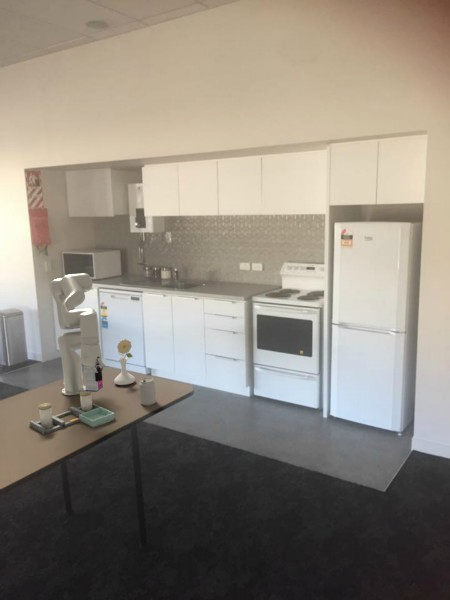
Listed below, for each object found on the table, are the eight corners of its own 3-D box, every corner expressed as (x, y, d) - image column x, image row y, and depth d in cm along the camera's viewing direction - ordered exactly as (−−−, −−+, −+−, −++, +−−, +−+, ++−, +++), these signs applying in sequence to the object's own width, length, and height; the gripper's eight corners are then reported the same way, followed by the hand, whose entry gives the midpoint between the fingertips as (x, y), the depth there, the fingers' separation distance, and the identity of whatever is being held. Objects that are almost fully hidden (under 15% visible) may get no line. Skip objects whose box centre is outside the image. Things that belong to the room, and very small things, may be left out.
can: (141, 400, 247) (139, 377, 245) (156, 399, 247) (155, 376, 245) (139, 406, 239) (138, 382, 237) (155, 405, 240) (154, 381, 238)
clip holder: (29, 426, 222) (28, 421, 221) (89, 405, 243) (88, 400, 243) (43, 434, 213) (42, 429, 212) (104, 412, 234) (103, 407, 234)
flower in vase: (109, 384, 272) (106, 339, 267) (125, 378, 281) (122, 334, 276) (126, 389, 264) (122, 342, 259) (142, 382, 273) (139, 337, 268)
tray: (79, 420, 226) (78, 414, 225) (100, 413, 234) (100, 406, 233) (93, 427, 218) (92, 421, 218) (115, 419, 226) (114, 413, 226)
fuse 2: (79, 412, 235) (77, 392, 233) (89, 409, 239) (87, 389, 237) (85, 415, 231) (83, 394, 230) (95, 411, 235) (93, 391, 233)
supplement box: (97, 391, 220) (95, 366, 218) (85, 391, 221) (82, 366, 219) (103, 387, 225) (101, 362, 223) (91, 386, 227) (89, 362, 225)
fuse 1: (38, 427, 221) (36, 405, 219) (49, 423, 224) (47, 402, 223) (44, 430, 217) (42, 408, 215) (55, 426, 221) (53, 404, 219)
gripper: (72, 339, 222) (75, 377, 226) (93, 345, 211) (97, 385, 214) (87, 335, 228) (90, 372, 231) (109, 341, 216) (112, 380, 219)
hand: (93, 378), depth 222 cm, fingers closed on supplement box, 7 cm apart
